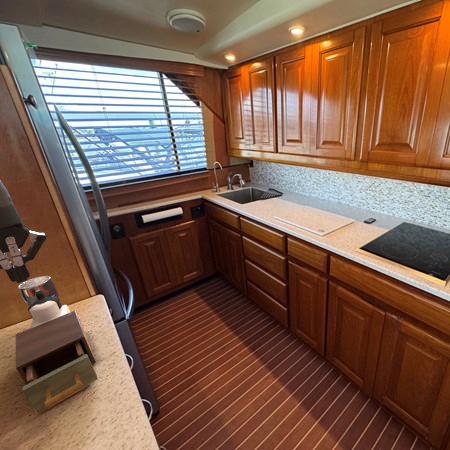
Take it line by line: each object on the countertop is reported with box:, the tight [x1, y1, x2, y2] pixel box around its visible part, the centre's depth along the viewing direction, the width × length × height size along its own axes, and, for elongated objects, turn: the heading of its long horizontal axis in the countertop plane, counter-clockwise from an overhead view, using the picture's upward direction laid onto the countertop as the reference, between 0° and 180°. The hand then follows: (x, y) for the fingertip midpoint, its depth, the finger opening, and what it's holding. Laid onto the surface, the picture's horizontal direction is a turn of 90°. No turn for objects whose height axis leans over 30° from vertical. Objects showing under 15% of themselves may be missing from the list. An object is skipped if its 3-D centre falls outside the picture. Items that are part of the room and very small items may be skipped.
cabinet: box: [15, 310, 97, 385], centre depth 60 cm, size 14×11×9 cm
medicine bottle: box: [27, 297, 71, 328], centre depth 68 cm, size 7×7×12 cm
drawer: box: [21, 341, 99, 415], centre depth 54 cm, size 18×10×7 cm, turn 49°
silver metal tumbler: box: [17, 275, 61, 308], centre depth 72 cm, size 7×7×15 cm
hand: (22, 280), depth 52 cm, fingers closed
